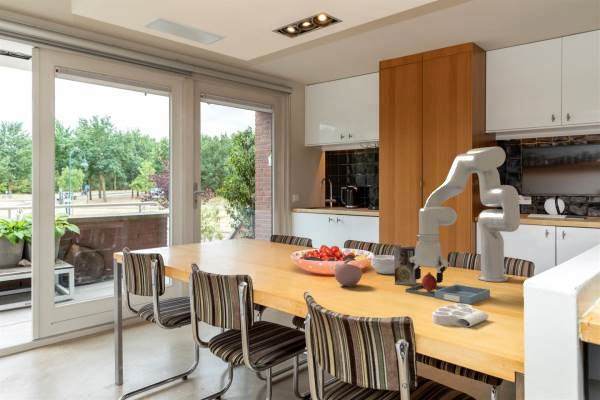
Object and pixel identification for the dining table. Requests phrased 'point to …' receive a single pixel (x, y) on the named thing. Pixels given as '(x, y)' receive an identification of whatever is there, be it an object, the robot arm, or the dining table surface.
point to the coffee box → (404, 265)
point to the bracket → (413, 290)
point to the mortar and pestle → (347, 274)
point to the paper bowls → (383, 264)
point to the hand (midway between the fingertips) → (428, 280)
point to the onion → (429, 282)
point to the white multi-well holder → (458, 315)
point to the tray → (462, 294)
